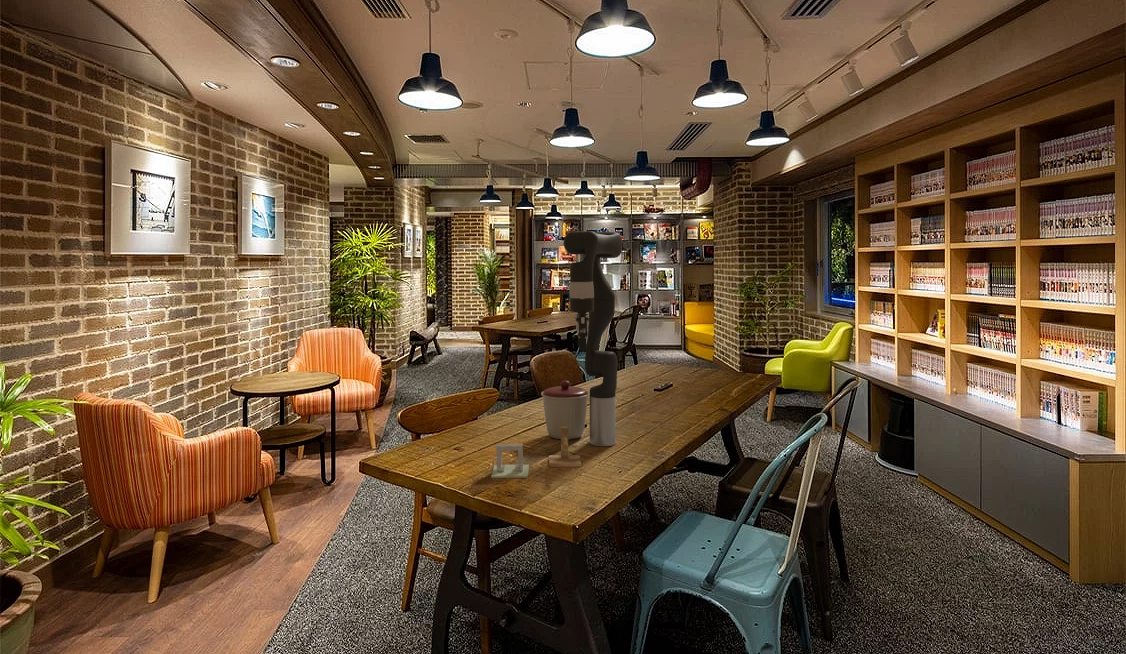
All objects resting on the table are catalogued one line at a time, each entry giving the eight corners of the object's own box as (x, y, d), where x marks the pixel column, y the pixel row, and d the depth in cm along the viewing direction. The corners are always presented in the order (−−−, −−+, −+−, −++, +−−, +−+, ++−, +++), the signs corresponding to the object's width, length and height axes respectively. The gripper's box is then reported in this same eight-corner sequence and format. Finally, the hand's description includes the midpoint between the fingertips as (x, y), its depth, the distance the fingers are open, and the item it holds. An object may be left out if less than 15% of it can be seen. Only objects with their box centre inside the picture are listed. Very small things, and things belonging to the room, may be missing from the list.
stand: (549, 458, 212) (549, 425, 210) (579, 457, 212) (579, 425, 211) (549, 477, 193) (549, 441, 192) (582, 476, 193) (582, 441, 192)
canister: (590, 443, 229) (590, 385, 227) (540, 443, 230) (539, 385, 228) (589, 430, 247) (589, 376, 245) (542, 430, 248) (542, 376, 246)
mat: (494, 466, 203) (494, 464, 203) (529, 466, 203) (529, 464, 203) (491, 478, 192) (491, 476, 192) (527, 477, 192) (527, 475, 192)
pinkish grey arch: (497, 468, 199) (497, 443, 198) (523, 468, 199) (522, 443, 199) (496, 471, 196) (496, 446, 195) (522, 471, 196) (522, 446, 196)
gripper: (569, 295, 204) (569, 345, 206) (570, 298, 190) (570, 351, 192) (592, 295, 204) (592, 345, 206) (595, 297, 190) (595, 351, 192)
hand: (582, 348), depth 199 cm, fingers open, 8 cm apart
